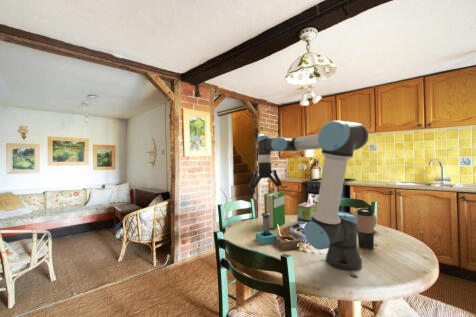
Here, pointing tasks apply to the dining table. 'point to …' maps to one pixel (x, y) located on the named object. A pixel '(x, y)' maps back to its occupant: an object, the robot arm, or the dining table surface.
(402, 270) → the dining table surface
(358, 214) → the travel mug
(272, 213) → the hardback book
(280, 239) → the walnut mount
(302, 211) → the tea box
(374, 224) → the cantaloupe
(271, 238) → the teal socket
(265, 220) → the lock pin
